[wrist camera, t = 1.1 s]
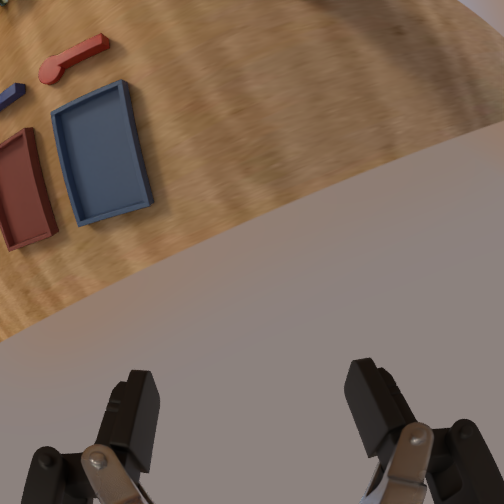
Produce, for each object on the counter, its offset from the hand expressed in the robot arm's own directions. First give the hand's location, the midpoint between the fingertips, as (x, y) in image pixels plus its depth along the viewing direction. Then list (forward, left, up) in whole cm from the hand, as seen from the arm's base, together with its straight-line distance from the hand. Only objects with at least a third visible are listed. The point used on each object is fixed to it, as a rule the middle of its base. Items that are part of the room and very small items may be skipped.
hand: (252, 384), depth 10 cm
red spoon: (-25, -16, -25) cm, 39 cm away
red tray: (-11, -29, -25) cm, 40 cm away
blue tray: (-11, -14, -25) cm, 31 cm away
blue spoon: (-25, -30, -25) cm, 47 cm away
